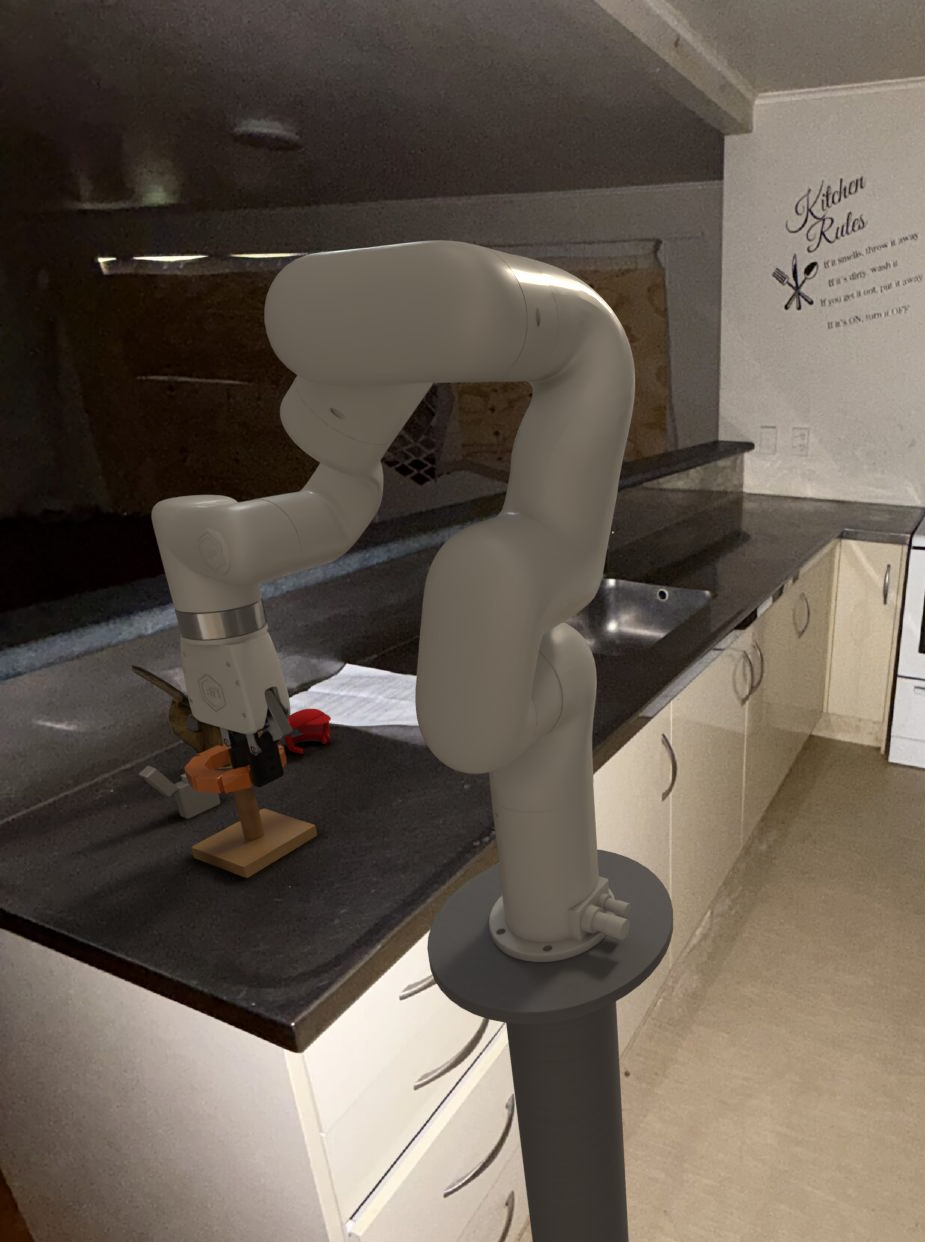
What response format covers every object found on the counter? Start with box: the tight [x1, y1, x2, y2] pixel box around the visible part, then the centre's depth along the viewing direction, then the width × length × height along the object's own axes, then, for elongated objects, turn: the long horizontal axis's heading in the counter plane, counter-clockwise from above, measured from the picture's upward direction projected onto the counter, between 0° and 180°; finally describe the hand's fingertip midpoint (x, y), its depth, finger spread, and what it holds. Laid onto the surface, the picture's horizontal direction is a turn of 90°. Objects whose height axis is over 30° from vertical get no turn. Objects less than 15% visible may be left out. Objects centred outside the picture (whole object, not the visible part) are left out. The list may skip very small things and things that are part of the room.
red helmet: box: [283, 708, 332, 755], centre depth 110 cm, size 8×6×6 cm
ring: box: [184, 744, 287, 794], centre depth 84 cm, size 9×10×2 cm
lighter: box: [138, 765, 221, 819], centre depth 92 cm, size 7×2×8 cm, turn 153°
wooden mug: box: [131, 664, 264, 771], centre depth 101 cm, size 9×14×18 cm, turn 148°
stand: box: [190, 784, 318, 879], centre depth 86 cm, size 9×9×10 cm
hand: (260, 777), depth 83 cm, fingers closed on ring, 2 cm apart
